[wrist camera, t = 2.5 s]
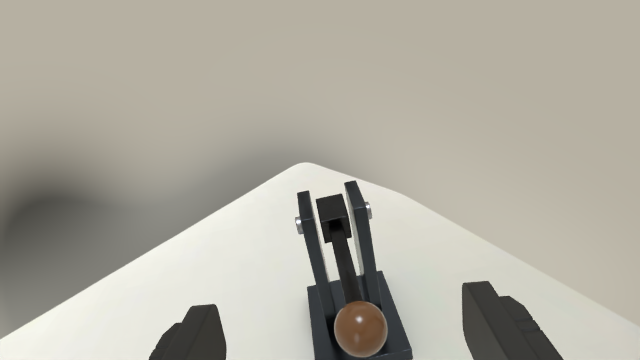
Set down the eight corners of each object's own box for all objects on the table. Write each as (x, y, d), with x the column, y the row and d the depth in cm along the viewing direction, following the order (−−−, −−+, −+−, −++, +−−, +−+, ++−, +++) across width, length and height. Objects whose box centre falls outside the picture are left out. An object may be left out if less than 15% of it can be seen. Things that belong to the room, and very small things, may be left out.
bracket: (412, 359, 33) (397, 222, 26) (318, 379, 33) (280, 248, 26) (383, 278, 42) (366, 162, 35) (309, 295, 42) (279, 181, 35)
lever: (395, 361, 23) (392, 331, 22) (342, 372, 23) (335, 344, 21) (351, 216, 34) (347, 188, 32) (315, 224, 34) (308, 196, 32)
